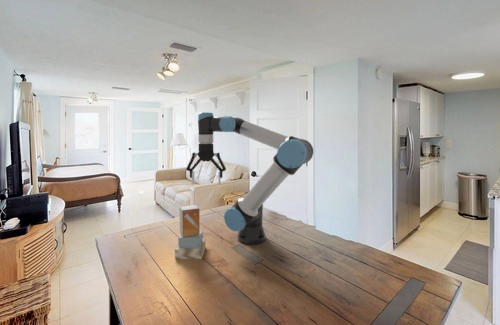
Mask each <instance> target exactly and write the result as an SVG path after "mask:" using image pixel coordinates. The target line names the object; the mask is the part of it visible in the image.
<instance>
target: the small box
mask: <svg viewBox="0 0 500 325" xmlns="http://www.w3.org/2000/svg"><path fill="white" fill-rule="evenodd" d="M200 226H201V225H200V207H199V206H198V205H197V204H194V205H184V206H179V233H180V235H182V237H188V236H194V235H199V234H200V231H201V230H200Z"/></svg>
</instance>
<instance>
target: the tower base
mask: <svg viewBox="0 0 500 325" xmlns="http://www.w3.org/2000/svg"><path fill="white" fill-rule="evenodd" d="M205 249H206V238H203V241H202V243H201V244H200V246H199V248H198V249H192V248H179V244H178V243H177V246H175V249H174V259H175V260H193V259H194V260H201V259H203V255H204V254H205Z"/></svg>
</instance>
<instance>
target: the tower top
mask: <svg viewBox="0 0 500 325" xmlns="http://www.w3.org/2000/svg"><path fill="white" fill-rule="evenodd" d="M199 231H200V234H199V235H194V236H188V237H182V235H181V234H180V235H179V236H178V238H177V239H178V241H177V242H178V243H177V245H178V244H179V248H192V249H198V248H199V246H200V244H201V243H202V241H203V239H204V238H203V232H204V231H203V230H199Z"/></svg>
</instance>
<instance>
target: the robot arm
mask: <svg viewBox="0 0 500 325" xmlns="http://www.w3.org/2000/svg"><path fill="white" fill-rule="evenodd" d="M197 126H198V152H192V154H191V158H190V160H189V162H188V164H187V166H186V168H185V170H186V171H188V172H189V178H191V185H194V184H195V171H193V170H195V168H196V167H198V165H199V164H200V163H201V162H211V163H212V164H213V165H214V166H215V167H216V169H217V170H218V175H217V176H218V185H221V179H222V178H223V172H225V171H226V169H227V168H226V166H225V164H224V162H223V160H222V158H221V155H220V152H214V132H217V133H219V132H221V133H223V132H224V133H236V134H238V135H241V136H243V137H245V138H249V139H251V140H253V141H256V142H258V143H261V144H263V145H266V146H268V147H271V148H273V149H276V150H277V151H276V154H275V155H274V156H273V159H272V161H273V163H272V164H271V165H270V167H269V168H268V169H267V170H266V171H265V172H264V173H263V175H262V176H261V177H260V178H259V180H258V181H257V182H256V183H255V184H254V186H252V188H251V189H250V190H249V191H248V192H247V194H245V196H242V197H239V198H238V200H236V201H235V203H234V204H233V205H232V206H231V207H229V208H227V209H226V210H225V211H224V215H223V219H224V223H225V225H226V227H227V228H228V229H229V230H231V231H233V232H237V240H238V241H239V242H240V243H241V244H244V245H245V244H246V245H258V244H261V242H262V243H263V241H264V240H265V241H266V233H265V229H264V226H263V216H264V215H263V214H264V213H263V211H264V210H263V209H264V204H265V202H266V200H268V199H269V198H270V197H271V196H272V194H273V193H274V192H275V191H276V190H277V188H278V187H280V185H281V184H282V183H283V182H284V181H285V179H286V178H288V176H293V175H295V174H296V173H297V172H298V170H299V169H300V168H301V167H302V166H303V165H305V164H307V163H308V162H310V161H311V160H312V158H313V156H314V147H313V146H312V144H311V142H309V141H308V140H307V139H303V138H300V137H295V136H293V135H290V136H286V135H283V134H282V133H278V132H276V131H273V130H270V129H268V128H266V127H262V126H260V125H257V124H255V123H252V122H249V121H246V120H244V119H243V118H240V117H233V116H230V115H229V116H228V115H222V116H221V115H219V116H214V113H213V112H209V111H208V112H199V113H198V119H197ZM196 157H198V158H199V159H198V160H197V161H196V162H195V161H194V160H195V159H196ZM214 157H215V158H216V159H217V160H218V162H219V164H220V165H219V164H218V162H217V161H216V160H215V159H214ZM194 162H195V163H194ZM193 163H194V165H192V164H193ZM265 241H264V242H265Z"/></svg>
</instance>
